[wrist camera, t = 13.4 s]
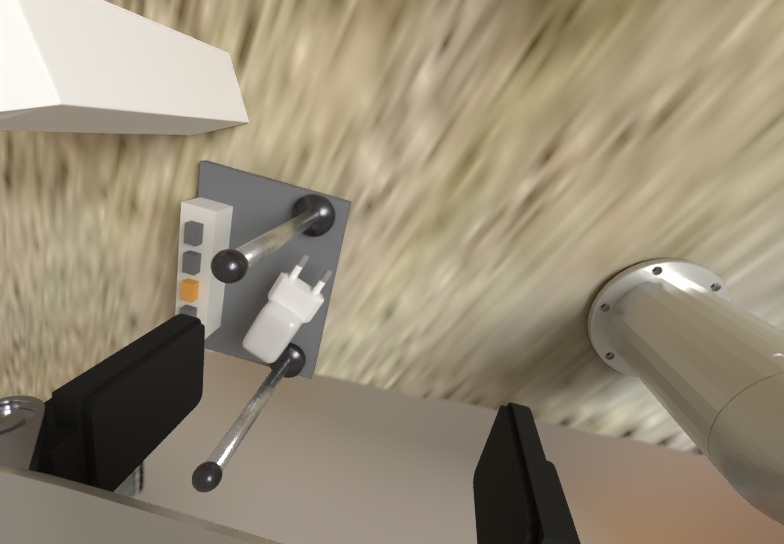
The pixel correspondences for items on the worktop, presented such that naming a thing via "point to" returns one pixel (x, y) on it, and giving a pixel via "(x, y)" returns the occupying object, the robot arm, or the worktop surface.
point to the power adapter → (284, 313)
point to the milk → (109, 73)
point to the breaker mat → (247, 297)
